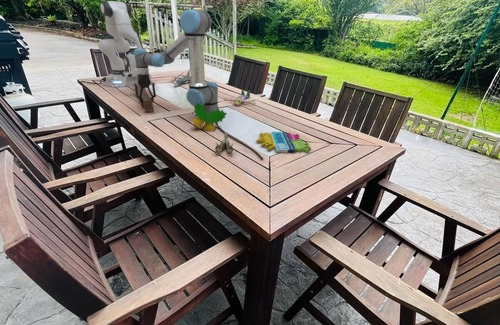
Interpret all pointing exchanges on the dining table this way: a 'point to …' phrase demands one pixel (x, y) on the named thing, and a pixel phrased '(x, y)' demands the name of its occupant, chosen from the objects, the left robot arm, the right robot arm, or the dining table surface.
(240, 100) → the toy
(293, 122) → the dining table surface
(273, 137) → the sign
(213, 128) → the ornament
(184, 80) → the airplane
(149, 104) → the post
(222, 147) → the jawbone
